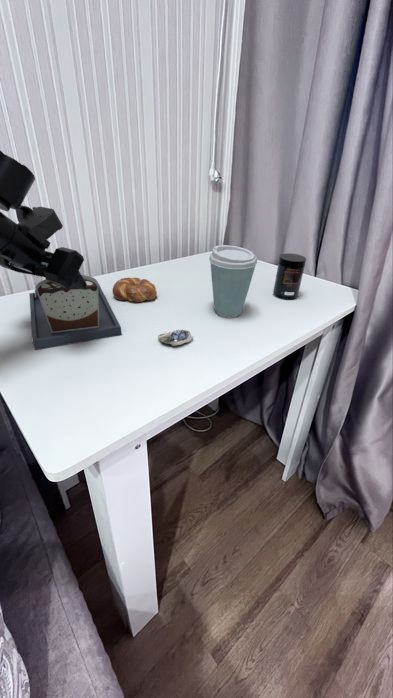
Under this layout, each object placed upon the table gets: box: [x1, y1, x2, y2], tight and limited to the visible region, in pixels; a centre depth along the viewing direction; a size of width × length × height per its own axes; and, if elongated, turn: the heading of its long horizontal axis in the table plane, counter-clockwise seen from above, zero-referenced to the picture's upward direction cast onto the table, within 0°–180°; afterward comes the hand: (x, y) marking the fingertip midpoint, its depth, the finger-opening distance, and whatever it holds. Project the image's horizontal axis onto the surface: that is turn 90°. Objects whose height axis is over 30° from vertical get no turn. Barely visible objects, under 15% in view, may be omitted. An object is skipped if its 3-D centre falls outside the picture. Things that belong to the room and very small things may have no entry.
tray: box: [28, 288, 123, 351], centre depth 74 cm, size 17×24×2 cm
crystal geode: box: [157, 329, 194, 347], centre depth 68 cm, size 7×8×2 cm
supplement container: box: [272, 252, 307, 300], centre depth 87 cm, size 7×7×10 cm
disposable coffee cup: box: [208, 244, 258, 319], centre depth 76 cm, size 11×11×15 cm
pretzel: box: [112, 277, 158, 303], centre depth 85 cm, size 12×11×4 cm
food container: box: [34, 274, 103, 333], centre depth 68 cm, size 12×6×10 cm, turn 108°
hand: (68, 281), depth 66 cm, fingers open, 9 cm apart
